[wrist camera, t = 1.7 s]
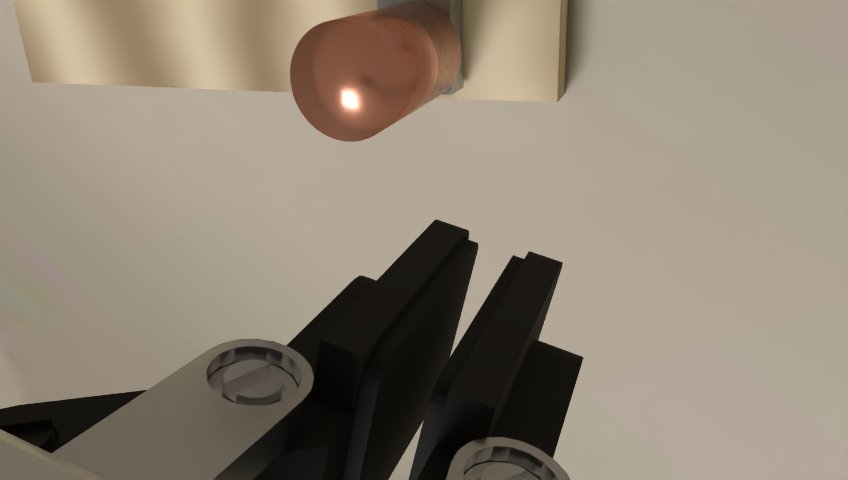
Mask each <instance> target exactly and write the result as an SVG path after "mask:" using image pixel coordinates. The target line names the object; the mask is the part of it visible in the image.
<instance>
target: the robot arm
mask: <svg viewBox="0 0 848 480" xmlns="http://www.w3.org/2000/svg"><path fill="white" fill-rule="evenodd" d="M468 239H469V231H468V230H466V229H463V228H460V227H457V226H454V225H451V224H448V223H445V222H442V221H439V220H435V221H433V222H432V224H431V225H430V226H429V227H428V228H427V229H426V230H425V231H424V232H423V233H422V234H421V235H420V236H419V237H418V238H417V239H416V240H415V241H414V242H413V243H412V244H411V245H410V246H409V248H408V249H407V250H406V251H405V252H404V253H403V254H402V255H401V256H400V257H399V258H398V259H397V260H396V261H395V262H394V263H393V264H392V265H391V266H390V267H389V268H388V269H387V270H386V271H385V273H384V274H383V275H382V276H381V277H380V278H379V279H378V280H377V281H376V280H373V279H370V278H368V277H365V276H358V277H357V278H355V279H354V280H353V281H352V282H351V283H350V284H349V285H348V286H347V287H346V288H345V289H344V290H343V291H342V292H341V293H340V294H339V295H338V296H337V297H336V298H335V299H334V300H333V301H332V302H331V303H330V304H329V305H327V306H326V307H325V308H324V309H323V310H322V311H321V312H320V313H319V314H318V315H317V316H316V317H315V318H314V319H313V320H312V321H311V322H310V323H309V324H308V325H307V326H306V327H305V328H304V329H303V330H302V331H301V332H300V333H299V334H298V335H297V336H296V337H295V338H294V339H293V340H292V341H291V342H290V343H288V344H287V345H286V346H285V345H282V344H279V343H277V342H273V341H267V340H261V339H239V340H234V341H230V342H225V343H222V344H220V345H218V346H216V347H214V348H211V349H209V350H208V351H206V352H205V353H203V354H201V355H200V356H198V357H197V358H195V359H194V360H192V361H191V362H189V363H188V364H186V365H185V366H183V367H182V368H180V369H179V370H177V371H176V372H174V373H173V374H171V375H170V376H168V377H167V378H165V379H164V380H162V381H161V382H159V383H158V384H156V385H154V386H153V387H151V388H150V389H148V390H143V391H135V392H127V393H118V394H110V395H101V396H93V397H84V398H76V399H67V400H59V401H50V402H42V403H33V404H25V405H18V406H13V407H8V408H4V409H0V480H388V479H389V477H390V476H391V474H392V472H393V471H394V469H395V467H396V466H397V464H398V462H399V461H400V459H401V457H402V455H403V454H404V452H405V450H406V449H407V447H408V445H409V444H410V442H411V440H412V439H413V437H414V435H415V433H416V432H417V430H418V428H419V427H420V425H421V423H422V422H423V425H422V429H421V433H420V437H419V441H418V445H417V449H416V453H415V457H414V461H413V465H412V469H411V473H410V477H409V480H570V478H569V476H568V474H567V473H566V472H565V471H564V470H563V469H562V467H561V466H560V465H559V464H558V463H557V462H556V461H555V460H554V459H553V456H554V453H555V449H556V446H557V443H558V440H559V436H560V433H561V430H562V426H563V423H564V420H565V417H566V413H567V410H568V407H569V403H570V400H571V397H572V394H573V390H574V387H575V384H576V380H577V377H578V374H579V371H580V367H581V364H582V360H583V357H581V356H579V355H576V354H573V353H571V352H568V351H565V350H562V349H560V348H557V347H554V346H552V345H549V344H546V343H543V342H541V341H538V339H539V336H540V333H541V330H542V327H543V324H544V321H545V318H546V314H547V311H548V308H549V305H550V302H551V299H552V296H553V293H554V290H555V287H556V284H557V281H558V278H559V274H560V271H561V268H562V264H563V263H562V262H559V261H556V260H553V259H550V258H548V257H545V256H542V255H539V254H536V253H533V252H530V251H529V252H528V254H527V256H526V257H525V259H522V258H519V257H516V256H514V255H513V256H512V258H511V259H510V261H509V263H508V264H507V266H506V268H505V269H504V271H503V272H502V274H501V276H500V277H499V279H498V281H497V282H496V284H495V285H494V287H493V289H492V290H491V292H490V294H489V295H488V297H487V298H486V300H485V302H484V303H483V305H482V307H481V308H480V310H479V311H478V313H477V315H476V316H475V318H474V320H473V321H472V323H471V324H470V326H469V328H468V329H467V331H466V333H465V334H464V336H463V337H462V339H461V341H460V342H459V344H458V346H457V347H456V349H455V350H454V352H453V354H452V355H451V357H450V354H451V350H452V347H453V343H454V339H455V335H456V331H457V327H458V324H459V320H460V316H461V312H462V308H463V305H464V301H465V297H466V293H467V289H468V285H469V282H470V278H471V274H472V270H473V266H474V262H475V259H476V255H477V251H478V243H476V242H473V241H470V240H468ZM449 358H450V359H449ZM423 420H424V421H423Z"/></svg>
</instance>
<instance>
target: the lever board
mask: <svg viewBox="0 0 848 480" xmlns="http://www.w3.org/2000/svg"><path fill="white" fill-rule="evenodd" d="M13 2H14V6H15V11H16V15H17V19H18V23H19V28H20V32H21V36H22V40H23V44H24V49H25V53H26V57H27V61H28V66H29V70H30V74H31V78H32V82H43V83H69V84H95V85H121V86H146V87H172V88H198V89H224V90H250V91H275V92H292V88H291V82H290V65H291V60H292V56H293V53H294V50H295V48H296V46H297V44H298V42H299V41H300V39H301V38H302V37H303V36H304V35H305V33H306V32H308V31H309V30H310V29H311V28H313V27H314V26H316V25H318V24H320V23H323V22H326V21H330V20H334V19H338V18H343V17H347V16H351V15H355V14H359V13H364V12H368V11H372V10H376V9H377V0H13ZM567 9H568V0H463V71H464V87H463V88H462V89H460V90H459V91H457V92H456V93H454V94H452V95H440V96H438V97H437V98H456V99H482V100H508V101H533V102H558V101H559V100H560V99H561V98H562V96H563V95H564V87H565V61H566V35H567Z"/></svg>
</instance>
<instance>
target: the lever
mask: <svg viewBox="0 0 848 480" xmlns="http://www.w3.org/2000/svg"><path fill="white" fill-rule="evenodd" d="M290 82H291V88H292V92H293V96H294V98H295V101H296V103H297V105H298V107H299V109H300V111H301V112H302V114H303V115H304V117H305V118H306V119H307V120H308V121H309V123H310V124H312V125H313V126H314V127H315V128H316V129H317V130H319V131H320V132H321V133H323V134H325V135H327V136H329V137H331V138H334V139H337V140H341V141H361V140H364V139H368V138H370V137H372V136H374V135H376V134H377V133H379V132H381V131H382V130H384V129H386V128H387V127H389V126H390V125H392V124H394V123H395V122H397V121H399V120H400V119H402V118H404V117H405V116H407V115H409V114H410V113H412V112H414V111H415V110H417V109H418V108H420V107H422V106H423V105H425V104H427V103H428V102H430V101H432V100H433V99H435V98H437V97H438V96H440V95H452V94H454V93H456V92H457V91H459V90H460V89H462V88H463V87H464V71H463V0H377V9H376V10H372V11H368V12H364V13H359V14H355V15H351V16H347V17H343V18H338V19H334V20H330V21H326V22H323V23H320V24H318V25H316V26H314V27H313V28H311V29H310V30H309V31H308V32H306V33H305V35H304V36H303V37H302V38H301V39H300V41H299V42H298V44H297V46H296V48H295V50H294V53H293V56H292V60H291V65H290Z"/></svg>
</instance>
